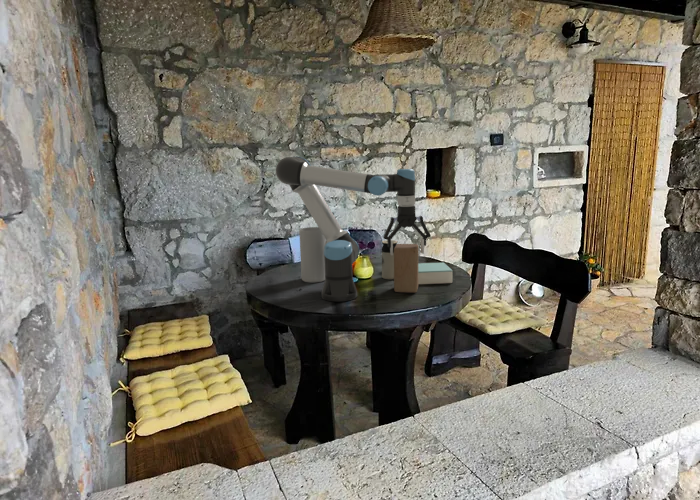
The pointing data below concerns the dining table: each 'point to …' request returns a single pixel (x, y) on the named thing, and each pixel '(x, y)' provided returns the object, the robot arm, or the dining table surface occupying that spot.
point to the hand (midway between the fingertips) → (407, 254)
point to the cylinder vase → (312, 254)
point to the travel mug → (387, 260)
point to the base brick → (434, 273)
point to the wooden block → (406, 268)
